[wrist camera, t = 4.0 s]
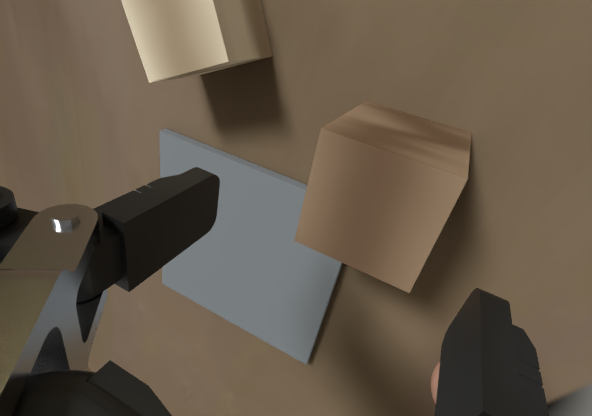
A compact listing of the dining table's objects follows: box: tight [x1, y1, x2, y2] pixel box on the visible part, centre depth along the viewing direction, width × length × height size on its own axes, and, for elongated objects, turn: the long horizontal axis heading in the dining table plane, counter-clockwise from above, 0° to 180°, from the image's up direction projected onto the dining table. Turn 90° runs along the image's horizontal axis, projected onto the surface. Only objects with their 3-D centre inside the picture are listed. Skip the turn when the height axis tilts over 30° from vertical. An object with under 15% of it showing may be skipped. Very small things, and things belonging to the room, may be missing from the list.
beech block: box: [121, 0, 272, 83], centre depth 17 cm, size 5×4×4 cm
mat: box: [159, 129, 343, 365], centre depth 25 cm, size 14×14×1 cm
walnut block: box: [294, 101, 472, 293], centre depth 15 cm, size 5×5×6 cm
